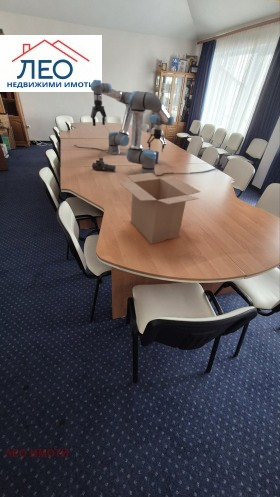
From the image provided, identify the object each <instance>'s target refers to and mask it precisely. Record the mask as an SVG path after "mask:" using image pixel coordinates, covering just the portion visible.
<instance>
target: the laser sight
mask: <svg viewBox="0 0 280 497" xmlns="http://www.w3.org/2000/svg"><path fill="white" fill-rule="evenodd" d="M91 168H92V170H95V171H101V172H102V171H103V172H113V173H115V172H116V169H117V167H116V165H114V164H108V163H105V161H104V158H103V157H99V158H98V160H97V159H96V160H95V162H92V164H91Z"/></svg>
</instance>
